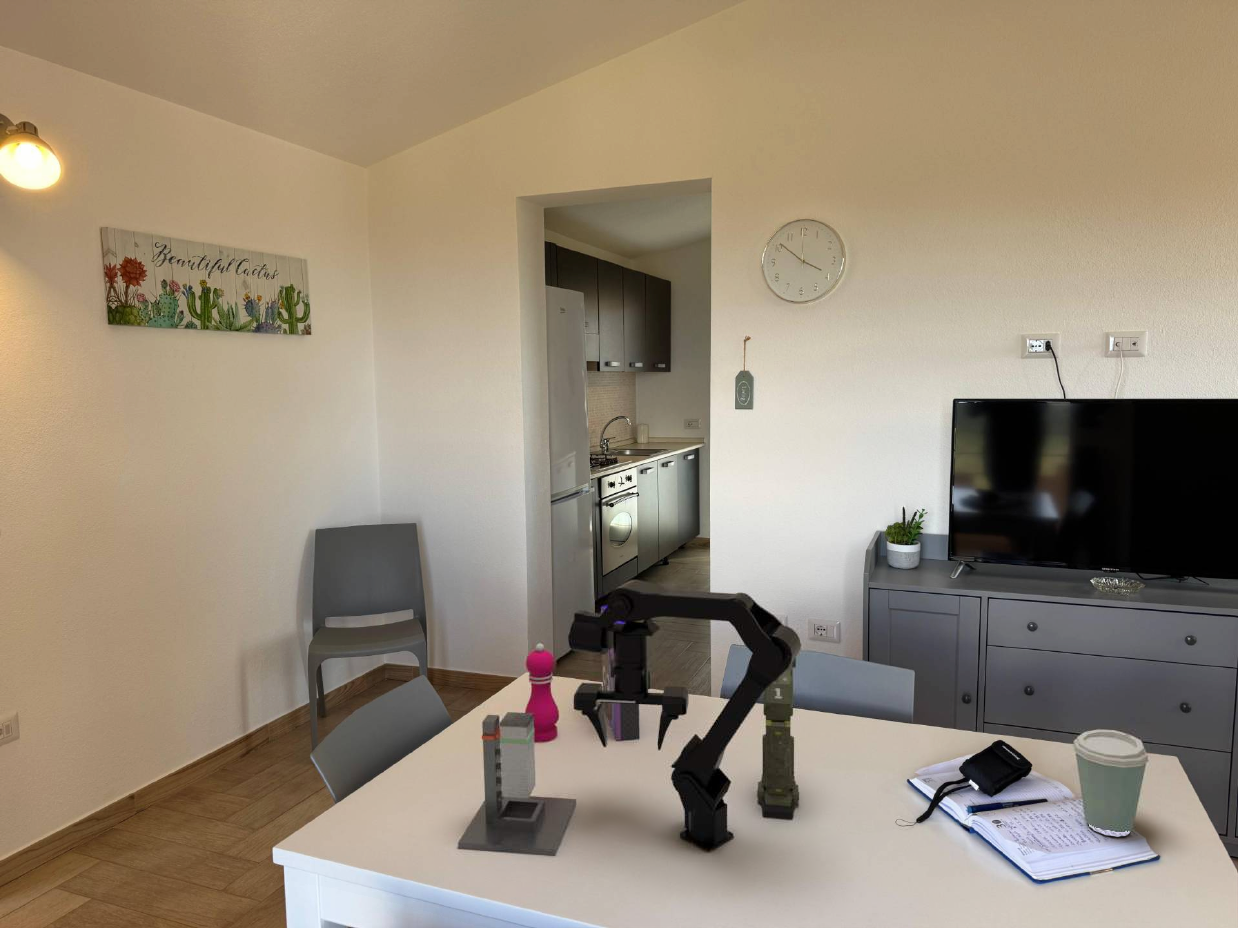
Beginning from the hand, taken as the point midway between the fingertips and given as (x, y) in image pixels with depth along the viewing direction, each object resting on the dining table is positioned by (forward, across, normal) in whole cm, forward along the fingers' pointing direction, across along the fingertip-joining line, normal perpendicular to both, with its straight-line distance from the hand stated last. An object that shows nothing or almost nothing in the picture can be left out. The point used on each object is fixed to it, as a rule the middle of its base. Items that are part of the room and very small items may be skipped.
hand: (632, 747), depth 141 cm
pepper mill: (+13, +24, -31) cm, 41 cm away
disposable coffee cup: (+13, -77, -8) cm, 79 cm away
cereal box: (+13, +8, -40) cm, 42 cm away
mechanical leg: (+13, -24, -10) cm, 29 cm away
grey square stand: (+13, +19, +4) cm, 23 cm away
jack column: (+7, +19, +4) cm, 20 cm away
